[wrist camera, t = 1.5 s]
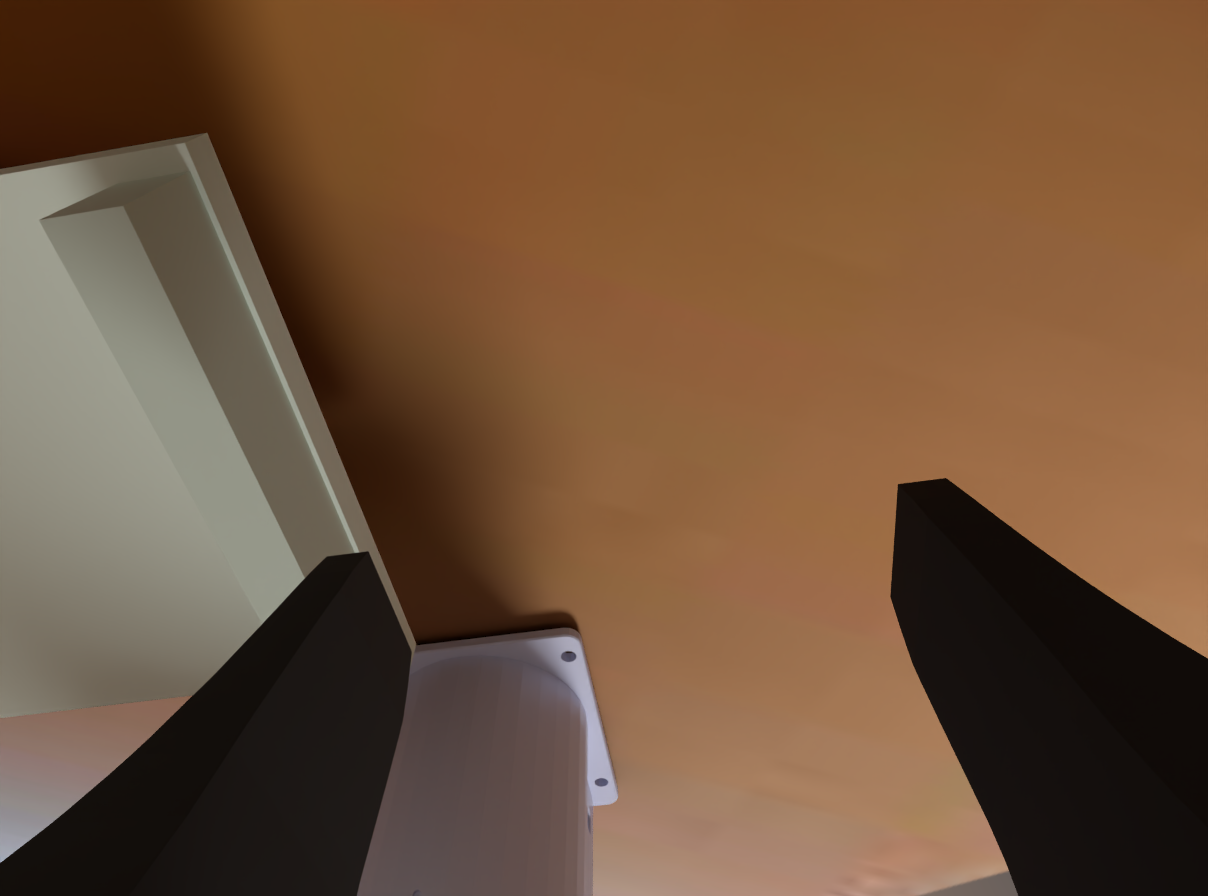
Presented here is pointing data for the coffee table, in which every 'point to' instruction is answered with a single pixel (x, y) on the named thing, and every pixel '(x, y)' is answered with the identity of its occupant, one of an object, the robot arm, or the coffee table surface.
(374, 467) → the coffee table surface
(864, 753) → the coffee table surface
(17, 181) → the lid
